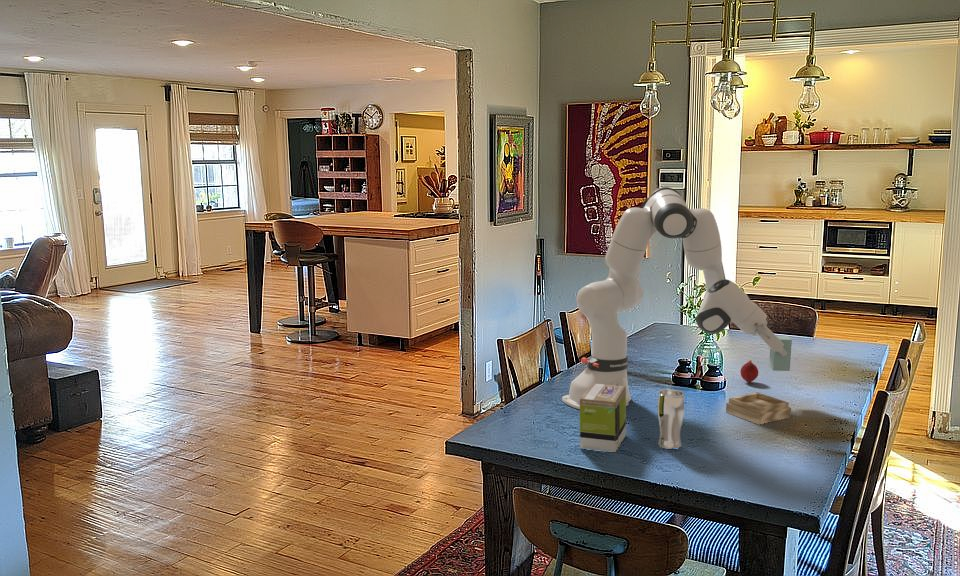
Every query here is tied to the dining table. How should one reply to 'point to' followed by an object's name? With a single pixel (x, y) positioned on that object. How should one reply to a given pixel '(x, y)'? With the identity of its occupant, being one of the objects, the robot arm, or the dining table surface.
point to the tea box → (603, 417)
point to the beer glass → (670, 417)
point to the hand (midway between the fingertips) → (782, 351)
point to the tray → (758, 408)
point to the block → (779, 361)
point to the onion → (749, 371)
